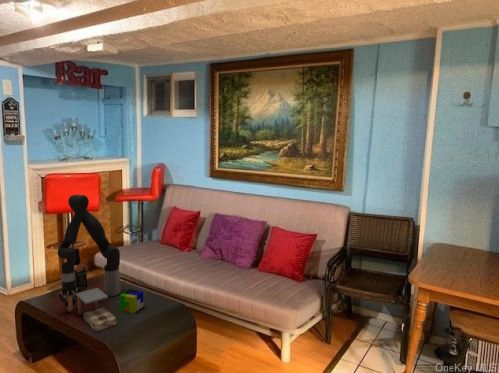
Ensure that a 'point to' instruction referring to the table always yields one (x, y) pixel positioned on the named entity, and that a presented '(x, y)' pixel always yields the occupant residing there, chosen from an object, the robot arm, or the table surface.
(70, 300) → the peg
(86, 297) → the grey small table
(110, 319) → the socket block
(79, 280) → the whiskey bottle
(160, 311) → the table surface
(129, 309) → the puzzle toy
